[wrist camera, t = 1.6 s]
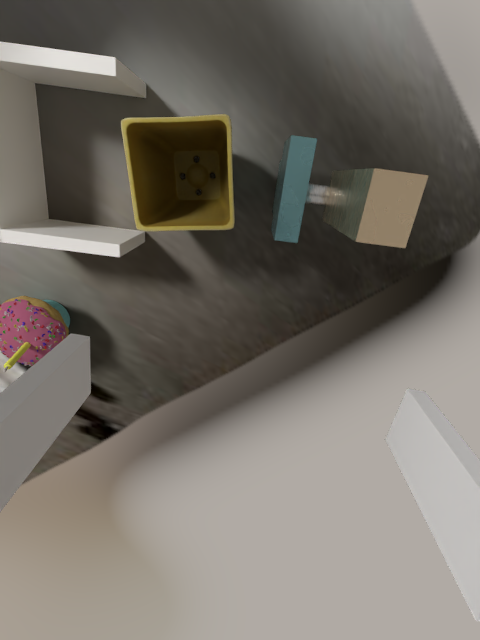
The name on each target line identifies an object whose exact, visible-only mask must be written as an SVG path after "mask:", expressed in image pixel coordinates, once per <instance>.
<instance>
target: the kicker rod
mask: <svg viewBox="0 0 480 640" xmlns="http://www.w3.org/2000/svg"><path fill="white" fill-rule="evenodd" d="M316 142H317V139H316V138H308V137H301V136H294V135H291V136H290V137H289V138H288V139H287V140H286V141H285V144H284V150H283V156H282V160H281V161H280V164H279V171H278V177H277V184H276V190H275V197H274V203H273V210H272V213H273V221H272V227H271V231H272V234H273V237H274V240H278V241H286V242H293V243H298V237H299V232H300V227H301V222H302V216H303V211H304V206H305V203H307V204H315V205H323V206H325V209H324V214H323V218H322V220H323V221H324V222H326V223H327V224H329V225H330V226H332V227H334V228H335V229H337V230H338V231H340V232H341V233H343V234H344V235H346V236H347V237H349V238H351V239H352V240H354V241H355V242H361V243H369V244H376V245H384V246H392V247H399V248H406V245H407V242H408V238H409V235H410V232H411V229H412V226H413V223H414V220H415V217H416V213H417V210H418V207H419V204H420V201H421V198H422V195H423V192H424V188H425V185H426V182H427V179H428V175H421V174H414V173H406V172H399V171H391V170H384V169H377V168H370V169H353V170H336V171H333V172H332V176H331V181H330V186H325V185H317V184H310V183H309V179H310V174H311V169H312V164H313V158H314V153H315V148H316Z"/></svg>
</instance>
